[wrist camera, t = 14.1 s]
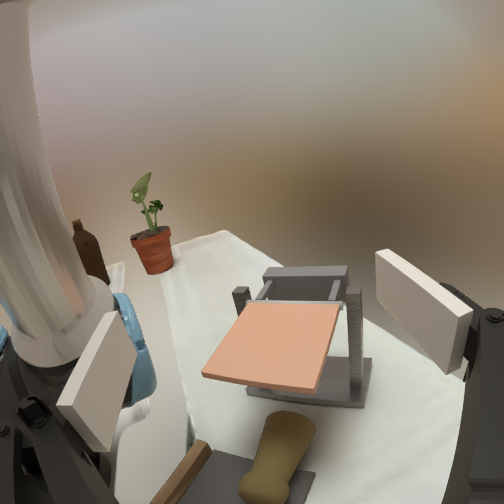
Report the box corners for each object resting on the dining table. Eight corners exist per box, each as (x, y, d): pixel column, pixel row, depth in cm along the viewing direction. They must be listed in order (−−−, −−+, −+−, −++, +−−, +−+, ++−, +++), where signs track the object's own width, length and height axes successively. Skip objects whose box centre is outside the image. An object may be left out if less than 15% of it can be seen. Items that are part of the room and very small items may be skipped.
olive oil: (117, 279, 103) (95, 213, 95) (100, 293, 93) (75, 222, 85) (97, 281, 106) (76, 218, 98) (80, 294, 96) (56, 227, 88)
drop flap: (272, 291, 45) (266, 267, 43) (352, 291, 39) (349, 265, 38) (209, 392, 29) (196, 366, 27) (320, 411, 24) (316, 384, 22)
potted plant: (188, 257, 109) (163, 161, 97) (166, 276, 96) (136, 168, 84) (155, 260, 114) (129, 171, 103) (131, 278, 101) (101, 180, 90)
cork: (274, 439, 34) (241, 508, 24) (259, 410, 32) (218, 485, 23) (320, 441, 31) (293, 517, 21) (308, 411, 29) (276, 496, 20)
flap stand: (269, 357, 50) (248, 269, 44) (371, 363, 42) (370, 266, 37) (247, 394, 42) (218, 301, 37) (363, 408, 34) (364, 304, 29)
